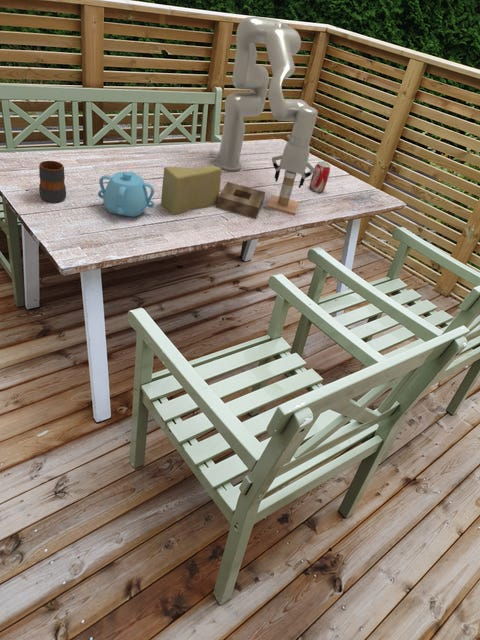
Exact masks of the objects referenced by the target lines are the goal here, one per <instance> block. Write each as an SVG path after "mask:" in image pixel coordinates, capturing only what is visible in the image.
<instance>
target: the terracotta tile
mask: <svg viewBox="0 0 480 640" xmlns="http://www.w3.org/2000/svg"><path fill="white" fill-rule="evenodd" d="M279 196H280V195H276V194H270V196H269V199H268V201H267V203H266V206H265V207H266V208H267V209H271V210H274V211H278V212H281V213H285V214H288V215H291V216H296V213H297V210H298V207H299V202H300V201H297V200H294V199H291V198H290V199H289V204H288V205H281V204H279V203H278V200H279Z"/></svg>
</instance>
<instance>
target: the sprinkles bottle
mask: <svg viewBox="0 0 480 640" xmlns="http://www.w3.org/2000/svg"><path fill="white" fill-rule="evenodd" d="M283 176H284V177H283V181H282V184H281V188H280V193H279V195H278V196H279V200H278V203H279V204H281V205H288V204H289V199H291V195H292V191H293V188H294V182H295V180H296V177H297V173H295V172H291V171H287V170H284V175H283Z"/></svg>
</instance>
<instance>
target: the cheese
mask: <svg viewBox="0 0 480 640" xmlns="http://www.w3.org/2000/svg"><path fill="white" fill-rule="evenodd" d="M221 181H222V169H221V168H219V167H217V166H216V165H211V166H197V167H196V166H194V167H185V166H184V167H182V166H181V167H180V166H165V167H164V169H163V177H162V188H161V197H160V198H161V199H160V204H161V206H162V207H163V208H164V209H166V211H168V213H169V214H170V215H178V214H181V213H183V212H184V213H185V212H188V211H193V210H196V209H202V208H208V207H209V208H210V207H213V206H216V205H217V199H218V196H219V194H220V192H221Z"/></svg>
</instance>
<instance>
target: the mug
mask: <svg viewBox="0 0 480 640" xmlns="http://www.w3.org/2000/svg"><path fill="white" fill-rule="evenodd" d="M38 166H39V167H38V170H39V172H38V173H39V174H38V177H39V186H38V187H39V189H38V193H39V197H40V198H41V199H42V201H44V202H47V203H52V204H55V203H61V202H63V201H64V200H65V199H66V198H67V190H66V189H67V188H66V183H65V180H66V179H65V178H66V177H65V176H66V175H65V167H64V165H63V163H60V162H59V161H54V160H44V161H41V162H40V163H39V165H38Z"/></svg>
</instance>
